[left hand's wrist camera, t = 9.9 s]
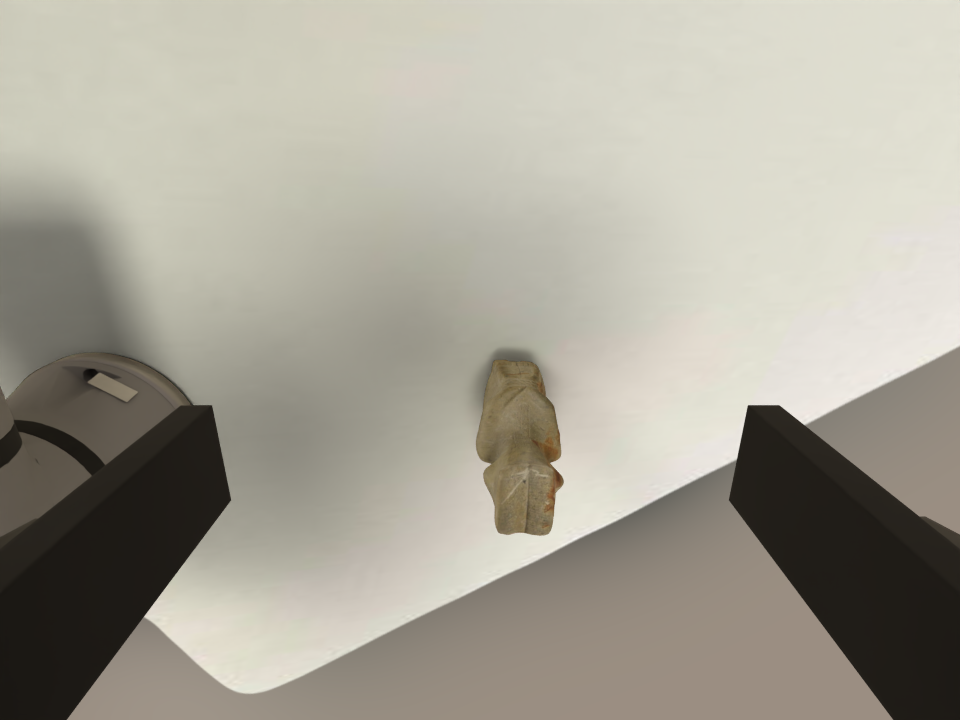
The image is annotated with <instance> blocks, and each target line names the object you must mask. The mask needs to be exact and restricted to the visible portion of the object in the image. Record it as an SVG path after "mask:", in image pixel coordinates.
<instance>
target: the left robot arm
mask: <svg viewBox="0 0 960 720" xmlns="http://www.w3.org/2000/svg"><path fill="white" fill-rule="evenodd" d="M230 501H231V497H230V492H229V487H228V482H227V477H226V472H225V467H224V463H223V458H222V453H221V448H220V443H219V438H218V433H217V428H216V423H215V418H214V413H213V408H212V405H191V404H190V403H189V401H188V400H187V399H186V397H185V396H184V395H183V394H182V393H181V392H180V390H179V389H178V388H176V387H175V386H174V385H173V384H172V383H171V382H170V381H169V380H167V379H166V378H165V377H164V376H162V375H161V374H159V373H158V372H156V371H155V370H153V369H151V368H150V367H148V366H146V365H144V364H142V363H139V362H137V361H134V360H132V359H129V358H126V357H123V356H118V355H114V354H108V353H95V352H93V353H80V354H75V355H71V356H67V357H64V358H62V359H59V360H57V361H55V362H53V363H51V364H48V365H46V366H44V367H42V368H40V369H38V370H36V371H35V372H33V373H32V374H30V375H29V376H28V377H27V378H26V379H24V381H23V382H22V383H21V384H20V385H19V386H18V387H17V388H16V389H15V391H14V392H13V393H12V394H11V395H10V396H9V397H8V398H7V399H5V397H4V395H3V392H2V390H1V387H0V720H67V719H68V717H69V716H70V715H71V713H72V712H73V711H74V709H75V708H76V706H77V705H78V704H79V702H80V701H81V700H82V699H83V697H84V696H85V695H86V693H87V692H88V690H89V689H90V688H91V686H92V685H93V684H94V682H95V681H96V680H97V678H98V677H99V676H100V675H101V673H102V672H103V671H104V669H105V668H106V666H107V665H108V664H109V662H110V661H111V660H112V658H113V657H114V656H115V654H116V653H117V652H118V650H119V649H120V648H121V646H122V645H123V644H124V642H125V641H126V640H127V638H128V637H129V636H130V634H131V633H132V632H133V630H134V629H135V628H136V626H137V625H138V624H139V622H140V621H141V620H142V618H143V617H144V616H145V614H146V613H147V612H148V610H149V609H150V608H151V606H152V605H153V604H154V602H155V601H156V600H157V598H158V597H159V596H160V594H161V593H162V592H163V590H164V589H165V588H166V586H167V585H168V584H169V582H170V581H171V580H172V578H173V577H174V576H175V574H176V573H177V572H178V570H179V569H180V568H181V566H182V565H183V564H184V562H185V561H186V560H187V558H188V557H189V556H190V554H191V553H192V552H193V550H194V549H195V548H196V546H197V545H198V544H199V542H200V541H201V540H202V538H203V537H204V536H205V534H206V533H207V532H208V530H209V529H210V528H211V526H212V525H213V524H214V522H215V521H216V520H217V518H218V517H219V516H220V514H221V513H222V512H223V510H224V509H225V508H226V506H227V505H228V504H229V502H230ZM729 501H730V502H731V504H732V505H733V506H734V508H735V509H736V510H737V511H738V513H739V514H740V516H741V517H742V518H743V520H744V521H745V522H746V524H747V525H748V526H749V528H750V529H751V530H752V532H753V533H754V534H755V536H756V537H757V538H758V540H759V541H760V542H761V544H762V545H763V546H764V548H765V549H766V550H767V552H768V553H769V554H770V556H771V557H772V558H773V560H774V561H775V562H776V564H777V565H778V566H779V568H780V569H781V570H782V572H783V573H784V574H785V576H786V577H787V578H788V580H789V581H790V582H791V584H792V585H793V586H794V588H795V589H796V590H797V592H798V593H799V594H800V596H801V597H802V598H803V600H804V601H805V602H806V604H807V605H808V606H809V608H810V609H811V610H812V612H813V613H814V614H815V616H816V617H817V618H818V620H819V621H820V622H821V624H822V625H823V626H824V628H825V629H826V630H827V632H828V633H829V634H830V636H831V637H832V638H833V640H834V641H835V642H836V644H837V645H838V646H839V648H840V649H841V650H842V652H843V653H844V654H845V656H846V657H847V658H848V660H849V661H850V662H851V664H852V665H853V666H854V668H855V669H856V670H857V672H858V673H859V675H860V676H861V677H862V679H863V680H864V681H865V683H866V684H867V685H868V687H869V688H870V689H871V691H872V692H873V693H874V695H875V696H876V697H877V698H878V700H879V701H880V703H881V704H882V705H883V707H884V708H885V709H886V711H887V712H888V713H889V715H890V716H891V717H892V719H893V720H960V535H959V534H957V533H956V532H954V531H952V530H950V529H948V528H946V527H944V526H942V525H940V524H938V523H937V522H935V521H933V520H931V519H929V518H927V517H919V516H918V515H917V514H915V513H914V512H913V511H912V510H910V509H909V508H908V507H907V506H905V505H904V504H903V503H902V502H900V501H899V500H898V499H897V498H895V497H894V496H893V495H891V494H890V493H889V492H888V491H886V490H885V489H884V488H883V487H881V486H880V485H879V484H878V483H876V482H875V481H874V480H873V479H871V478H870V477H869V476H868V475H866V474H865V473H864V472H862V471H861V470H860V469H859V468H857V467H856V466H855V465H854V464H852V463H851V462H850V461H849V460H847V459H846V458H845V457H844V456H842V455H841V454H840V453H839V452H837V451H836V450H835V449H834V448H832V447H831V446H830V445H829V444H827V443H826V442H825V441H823V440H822V439H821V438H820V437H818V436H817V435H816V434H815V433H813V432H812V431H811V430H810V429H808V428H807V427H806V426H805V425H803V424H802V423H801V422H800V421H798V420H797V419H796V418H795V417H793V416H792V415H791V414H790V413H788V412H787V411H786V410H784V409H783V408H782V407H781V406H779V405H748V408H747V413H746V418H745V423H744V428H743V433H742V438H741V443H740V448H739V453H738V458H737V463H736V468H735V473H734V477H733V482H732V487H731V492H730V497H729Z"/></svg>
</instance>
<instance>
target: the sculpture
mask: <svg viewBox="0 0 960 720" xmlns="http://www.w3.org/2000/svg"><path fill="white" fill-rule="evenodd" d="M476 449H477V453H478V456H479V458H480V459H481V460H482V461H484V462H487V463H491V465H490V466H489V467H487V468H486V469H485V471H484V473H483V476H484V482H485V484H486V486H487V488H488V490H489V492H490V494H491V496H492V499H493V502H494V505H495V525H496V528H497V531H498V532H499V533H500V534H506V535H510V534H513V533H519V532H520V533H527V534H531V535H539V536H541V535H547V534H549V532H550V531H551V528H552V524H553V517H554V505H555V493H556V492H557V491H558V490H559V489H560V488H561V487H562V485H563V483H564V480H563V478H562V476H561V475H560V474H559V473H558V472H557V470H556V469H555V468H554V467H553V466H552V465H551V464H550V463H551V462H554V461H556V460H558V459H559V458H560V457H561V445H560V433H559V430H558V425H557V420H556V414H555V409H554V406H553V404H552V403H551V402H550V401H549V400H548V398H547V397H546V393H545V386H544V383H543V379H542V376H541V373H540V370H539V368H538V367H537V365H535V364H534V363H532V362H527V361H520V362H514V361H507V360H495V361H494V362H493V366H492V371H491V374H490V376H489V379H488V383H487V386H486V390H485V396H484V403H483V412H482V416H481V421H480V425H479V430H478V434H477V439H476Z"/></svg>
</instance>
